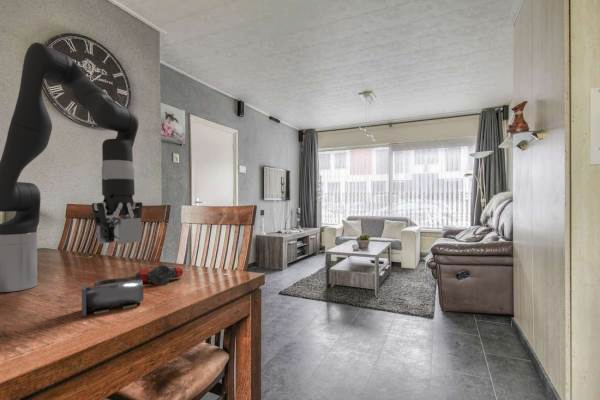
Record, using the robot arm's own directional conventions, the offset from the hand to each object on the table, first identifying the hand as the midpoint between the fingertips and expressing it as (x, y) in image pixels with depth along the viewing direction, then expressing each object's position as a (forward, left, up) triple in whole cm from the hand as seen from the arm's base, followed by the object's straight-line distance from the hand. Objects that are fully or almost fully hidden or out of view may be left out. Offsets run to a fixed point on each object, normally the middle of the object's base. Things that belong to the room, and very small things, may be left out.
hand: (119, 240), depth 80 cm
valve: (+8, +20, -17) cm, 27 cm away
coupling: (0, 0, -1) cm, 1 cm away
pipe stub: (-1, -5, -16) cm, 17 cm away
